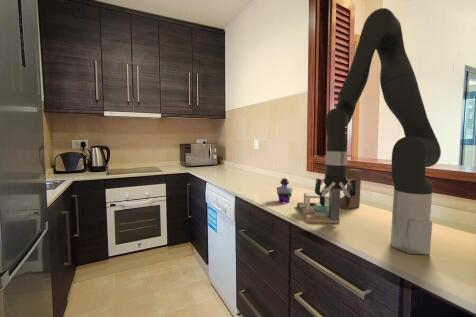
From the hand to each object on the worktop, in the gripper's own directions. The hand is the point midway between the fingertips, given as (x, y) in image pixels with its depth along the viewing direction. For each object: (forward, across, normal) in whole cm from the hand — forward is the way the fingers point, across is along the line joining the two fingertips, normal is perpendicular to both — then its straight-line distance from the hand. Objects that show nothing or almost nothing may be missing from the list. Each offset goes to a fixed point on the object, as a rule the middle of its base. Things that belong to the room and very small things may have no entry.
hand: (334, 206), depth 92 cm
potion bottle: (+7, -14, +34) cm, 37 cm away
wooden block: (+7, +16, +26) cm, 31 cm away
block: (+5, -3, +7) cm, 9 cm away
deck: (+7, -3, +13) cm, 15 cm away
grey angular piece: (+5, -2, +4) cm, 7 cm away
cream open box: (+5, -3, +14) cm, 15 cm away
